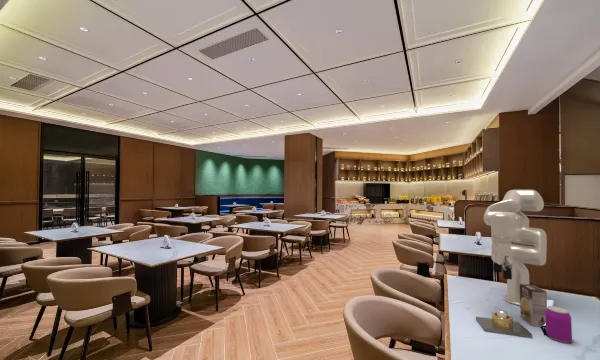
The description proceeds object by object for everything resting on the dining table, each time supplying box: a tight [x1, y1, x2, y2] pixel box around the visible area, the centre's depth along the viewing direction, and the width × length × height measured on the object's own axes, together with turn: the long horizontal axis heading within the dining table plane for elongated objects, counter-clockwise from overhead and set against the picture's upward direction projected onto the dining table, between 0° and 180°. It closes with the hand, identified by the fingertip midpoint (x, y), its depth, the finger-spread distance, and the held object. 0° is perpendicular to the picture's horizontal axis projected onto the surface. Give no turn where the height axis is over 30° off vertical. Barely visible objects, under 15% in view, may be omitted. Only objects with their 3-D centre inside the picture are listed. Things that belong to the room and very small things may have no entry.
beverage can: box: [545, 305, 573, 344], centre depth 109 cm, size 8×8×12 cm
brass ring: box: [491, 311, 514, 329], centre depth 116 cm, size 7×7×4 cm
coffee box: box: [519, 284, 548, 328], centre depth 123 cm, size 9×6×16 cm
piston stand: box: [475, 308, 533, 339], centre depth 116 cm, size 17×11×8 cm, turn 74°
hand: (502, 275), depth 125 cm, fingers open, 9 cm apart
